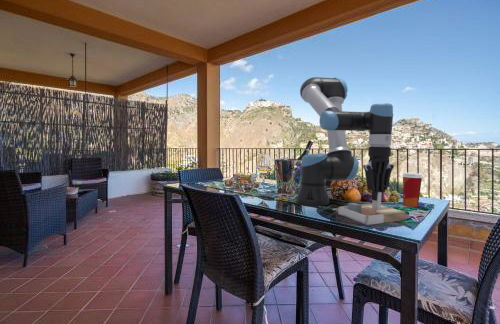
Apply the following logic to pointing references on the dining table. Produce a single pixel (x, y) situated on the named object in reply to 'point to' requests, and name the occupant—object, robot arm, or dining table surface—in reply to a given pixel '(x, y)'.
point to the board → (388, 213)
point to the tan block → (368, 211)
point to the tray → (360, 216)
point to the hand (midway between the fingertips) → (376, 208)
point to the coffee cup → (411, 189)
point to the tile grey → (354, 207)
